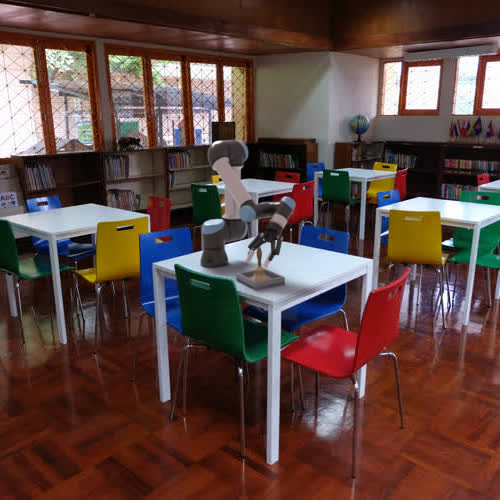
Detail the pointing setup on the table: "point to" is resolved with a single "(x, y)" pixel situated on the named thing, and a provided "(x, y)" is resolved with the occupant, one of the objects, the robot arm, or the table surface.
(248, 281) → the tray
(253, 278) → the hand bell
